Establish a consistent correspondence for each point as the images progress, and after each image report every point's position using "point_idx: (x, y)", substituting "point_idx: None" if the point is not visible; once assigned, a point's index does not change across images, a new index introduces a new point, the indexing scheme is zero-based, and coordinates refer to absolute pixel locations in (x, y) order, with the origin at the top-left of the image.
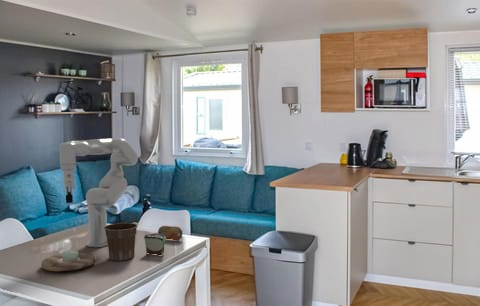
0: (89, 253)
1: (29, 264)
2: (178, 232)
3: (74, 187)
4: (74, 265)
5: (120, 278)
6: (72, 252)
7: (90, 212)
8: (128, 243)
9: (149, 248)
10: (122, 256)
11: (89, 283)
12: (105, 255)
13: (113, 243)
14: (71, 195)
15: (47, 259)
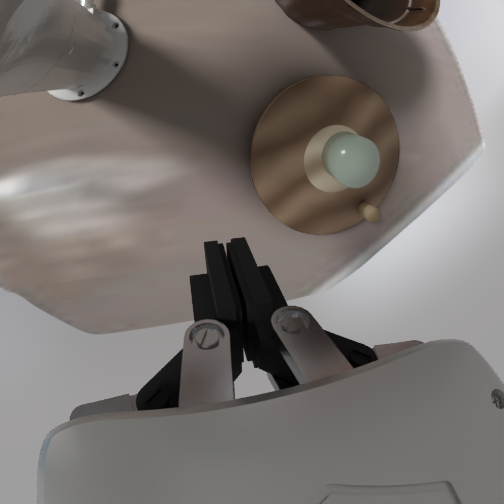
0: (294, 85)
1: (255, 260)
2: None
3: (481, 355)
4: (391, 150)
5: (451, 71)
6: (368, 156)
7: (30, 70)
8: None
9: None
10: (360, 4)
11: (448, 131)
12: (259, 29)
13: (383, 18)
14: (271, 309)
15: (300, 221)
